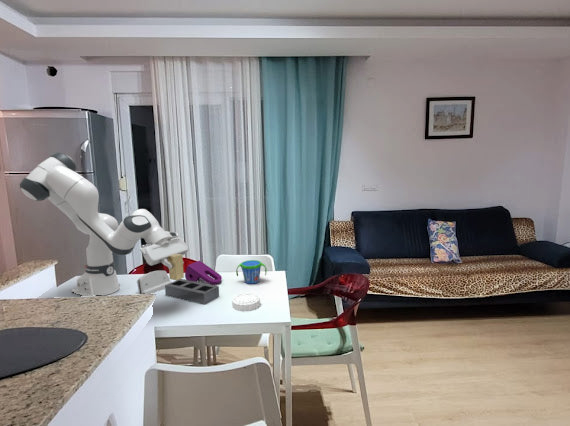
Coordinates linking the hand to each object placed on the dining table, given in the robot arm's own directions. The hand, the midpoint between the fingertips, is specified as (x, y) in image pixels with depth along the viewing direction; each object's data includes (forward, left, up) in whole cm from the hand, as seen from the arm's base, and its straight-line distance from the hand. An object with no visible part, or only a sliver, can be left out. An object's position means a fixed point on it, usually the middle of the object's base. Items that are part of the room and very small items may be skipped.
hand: (177, 266), depth 144 cm
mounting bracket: (-10, +33, -20) cm, 40 cm away
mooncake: (+24, +13, -20) cm, 34 cm away
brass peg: (-1, 0, -5) cm, 5 cm away
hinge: (-28, +16, -20) cm, 38 cm away
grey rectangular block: (-5, +14, -19) cm, 25 cm away
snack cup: (+13, +40, -20) cm, 47 cm away
